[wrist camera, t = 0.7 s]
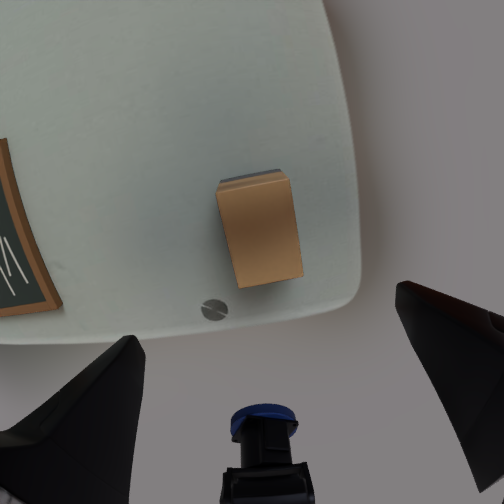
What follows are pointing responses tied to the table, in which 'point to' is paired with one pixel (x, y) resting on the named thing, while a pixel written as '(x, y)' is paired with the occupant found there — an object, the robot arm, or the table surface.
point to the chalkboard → (20, 253)
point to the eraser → (260, 227)
